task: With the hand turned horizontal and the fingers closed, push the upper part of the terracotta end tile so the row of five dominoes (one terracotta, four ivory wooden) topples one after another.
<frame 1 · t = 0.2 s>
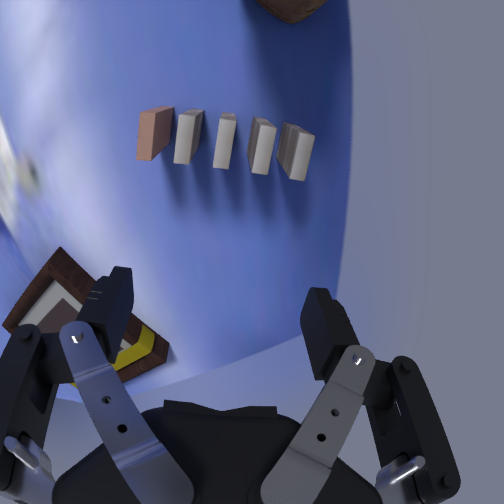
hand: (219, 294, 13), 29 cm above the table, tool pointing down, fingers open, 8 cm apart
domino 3: (225, 131, 37), on the table
domino 1: (165, 124, 35), on the table
domino 5: (285, 140, 38), on the table
domino 4: (255, 135, 37), on the table
domino 2: (195, 127, 36), on the table
picture frame: (79, 327, 54), on the table
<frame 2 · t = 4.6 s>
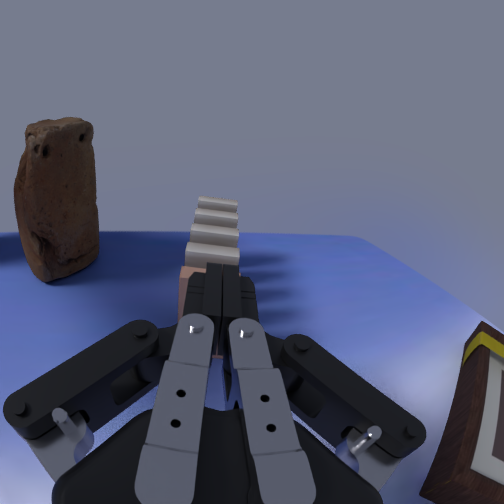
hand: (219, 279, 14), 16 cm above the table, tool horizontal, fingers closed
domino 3: (206, 300, 36), on the table
domino 1: (201, 350, 30), on the table
domino 5: (209, 264, 43), on the table
domino 4: (208, 280, 40), on the table
domino 2: (204, 323, 33), on the table
block: (64, 266, 36), on the table
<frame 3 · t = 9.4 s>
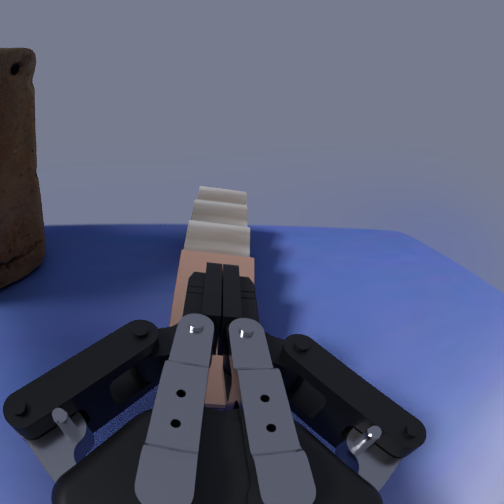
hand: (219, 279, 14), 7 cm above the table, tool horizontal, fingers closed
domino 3: (212, 302, 23), point 1 cm above the table, tilted 67°, touching domino 4
domino 1: (206, 405, 15), point 1 cm above the table, tilted 68°, touching domino 2
domino 4: (214, 272, 26), point 1 cm above the table, tilted 67°, touching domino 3
domino 2: (208, 346, 19), point 1 cm above the table, tilted 68°, touching domino 1
block: (0, 274, 20), on the table
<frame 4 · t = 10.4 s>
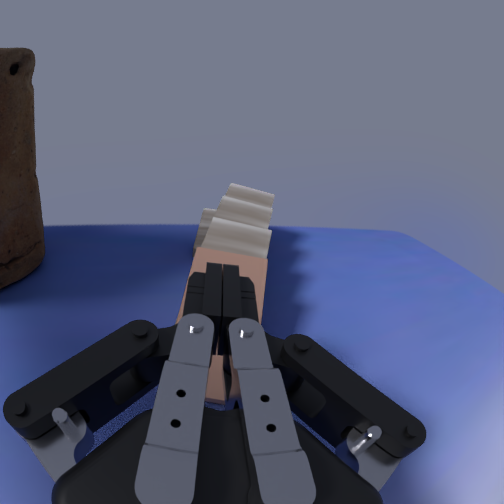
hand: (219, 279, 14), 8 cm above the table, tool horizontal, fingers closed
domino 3: (217, 293, 23), point 1 cm above the table, tilted 68°, touching domino 2
domino 1: (205, 399, 15), point 1 cm above the table, tilted 68°, touching domino 2
domino 5: (217, 258, 29), on the table, tilted 90°, touching domino 4
domino 4: (226, 264, 27), point 1 cm above the table, tilted 68°, touching domino 5
domino 2: (211, 339, 19), point 1 cm above the table, tilted 68°, touching domino 1, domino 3
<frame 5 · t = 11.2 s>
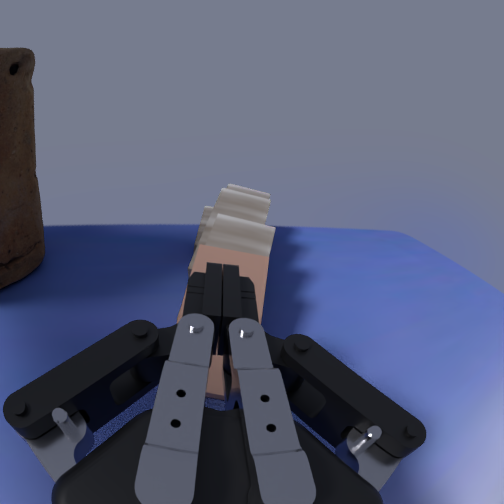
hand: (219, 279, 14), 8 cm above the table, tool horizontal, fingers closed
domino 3: (217, 281, 24), point 1 cm above the table, tilted 67°, touching domino 2, domino 4
domino 1: (205, 394, 16), point 1 cm above the table, tilted 68°, touching domino 2
domino 5: (218, 254, 30), on the table, tilted 90°, touching domino 4
domino 2: (212, 333, 20), point 1 cm above the table, tilted 67°, touching domino 1, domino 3
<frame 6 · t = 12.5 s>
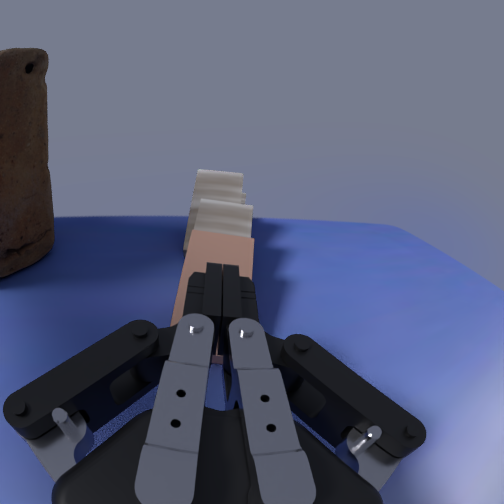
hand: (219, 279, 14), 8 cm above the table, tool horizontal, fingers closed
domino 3: (209, 256, 28), point 1 cm above the table, tilted 58°, touching domino 4
domino 1: (205, 358, 18), point 1 cm above the table, tilted 71°, touching domino 2
domino 2: (212, 300, 23), point 1 cm above the table, tilted 67°, touching domino 1
block: (9, 262, 22), on the table
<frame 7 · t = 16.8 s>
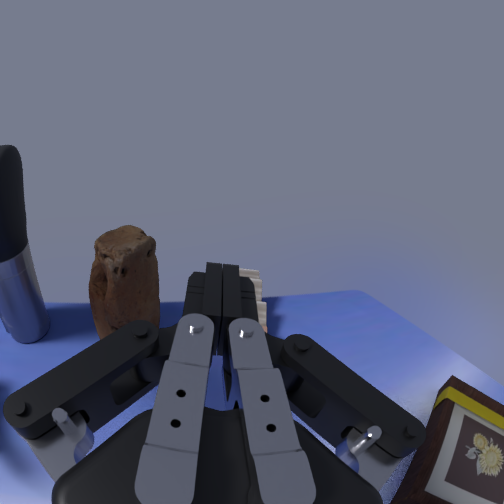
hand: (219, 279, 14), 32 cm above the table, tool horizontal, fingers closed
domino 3: (246, 326, 55), point 1 cm above the table, tilted 65°, touching domino 2
domino 4: (248, 300, 60), point 2 cm above the table, tilted 90°, touching domino 5
domino 2: (250, 351, 50), point 1 cm above the table, tilted 71°, touching domino 1, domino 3
picture frame: (472, 470, 29), on the table
block: (130, 339, 48), on the table
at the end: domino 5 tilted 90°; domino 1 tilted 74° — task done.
